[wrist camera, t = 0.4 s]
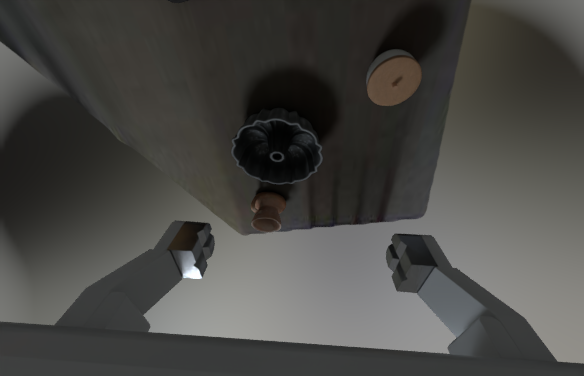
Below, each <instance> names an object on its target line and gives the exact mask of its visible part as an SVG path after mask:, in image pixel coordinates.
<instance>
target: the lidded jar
mask: <svg viewBox="0 0 584 376" xmlns="http://www.w3.org/2000/svg"><path fill="white" fill-rule="evenodd" d="M421 77H422V70H421V67H420V65H419V63H418V62H417V61H416V60H415V58H414V57H413V56H412V55H411V54H410V53H408V52H406V51H404V50H401V49H392V50H388V51H385V52H384V53H382V54H380V55H379V56H378V57H377V58H376V59H375V60H374V61H373V62H372V64H371V65H370V67H369V69H368V73H367V78H366V84H367V92H368V95H369V97H370V99H371V100H372V101H373V102H374V103H376V104H378V105H381V106H391V105H395V104H398V103H401V102H403V101H404V100H406V99H407V98H409V97H410V96H411V95H412V94H413V93H414V92H415V90H416V89H417V88H418V86H419V84H420V81H421Z"/></svg>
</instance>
